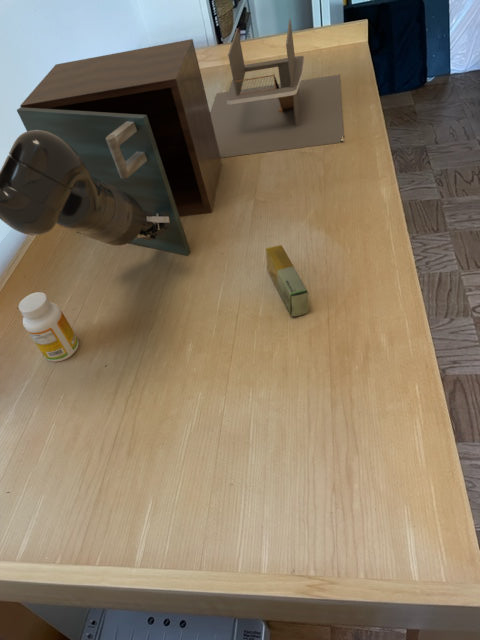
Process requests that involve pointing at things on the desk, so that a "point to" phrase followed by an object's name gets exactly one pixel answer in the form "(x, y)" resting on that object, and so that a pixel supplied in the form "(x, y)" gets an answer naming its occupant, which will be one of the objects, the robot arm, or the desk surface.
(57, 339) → the supplement bottle
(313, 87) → the grey brown stand-shaped piece
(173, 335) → the desk surface
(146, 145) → the door
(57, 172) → the robot arm
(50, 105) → the cupboard
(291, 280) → the medication box
